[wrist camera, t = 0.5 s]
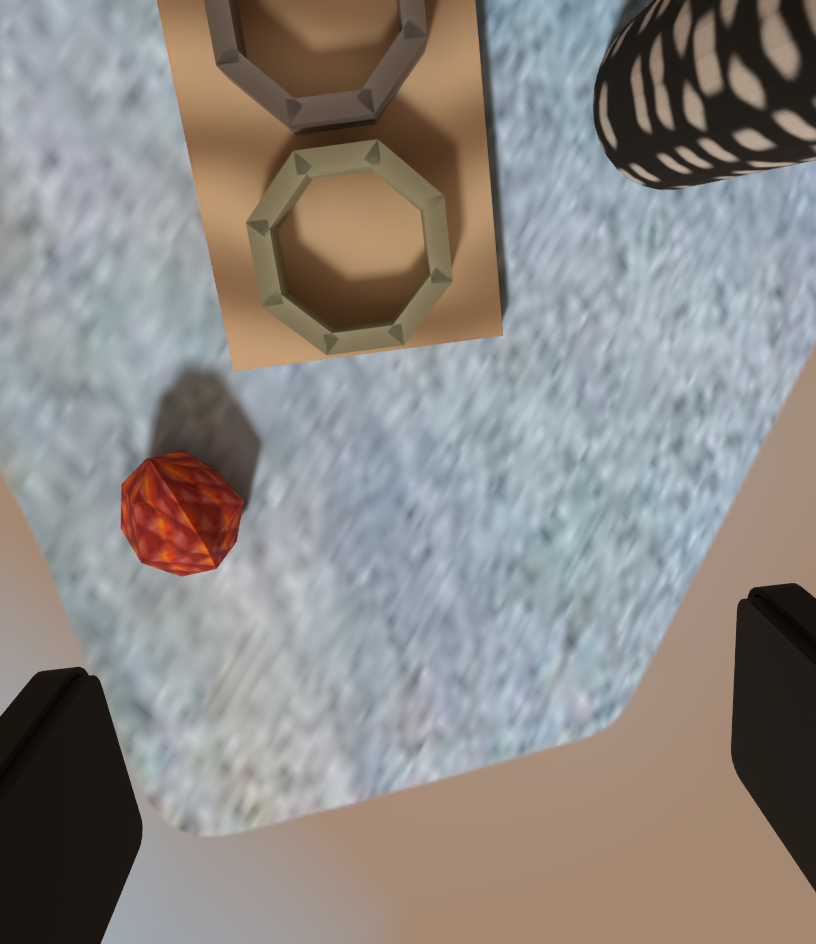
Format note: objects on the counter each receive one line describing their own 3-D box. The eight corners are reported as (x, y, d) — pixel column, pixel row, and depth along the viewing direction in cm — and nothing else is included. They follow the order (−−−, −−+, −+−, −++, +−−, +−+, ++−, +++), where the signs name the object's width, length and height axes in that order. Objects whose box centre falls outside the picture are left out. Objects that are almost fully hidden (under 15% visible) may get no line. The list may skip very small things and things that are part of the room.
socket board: (149, -77, 30) (115, -125, 27) (460, -121, 30) (470, -174, 26) (239, 366, 37) (222, 379, 33) (498, 332, 36) (511, 341, 33)
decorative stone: (171, 526, 42) (112, 425, 36) (275, 517, 41) (230, 412, 35) (135, 612, 37) (61, 510, 32) (252, 605, 36) (196, 498, 31)
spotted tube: (694, 221, 35) (1063, 185, 16) (560, 134, 34) (789, -20, 15) (796, 62, 33) (1358, -197, 14) (657, -39, 32) (1074, -482, 12)
